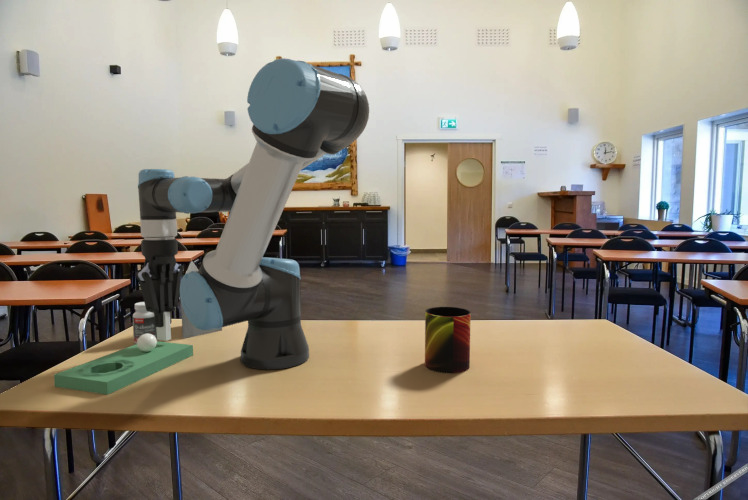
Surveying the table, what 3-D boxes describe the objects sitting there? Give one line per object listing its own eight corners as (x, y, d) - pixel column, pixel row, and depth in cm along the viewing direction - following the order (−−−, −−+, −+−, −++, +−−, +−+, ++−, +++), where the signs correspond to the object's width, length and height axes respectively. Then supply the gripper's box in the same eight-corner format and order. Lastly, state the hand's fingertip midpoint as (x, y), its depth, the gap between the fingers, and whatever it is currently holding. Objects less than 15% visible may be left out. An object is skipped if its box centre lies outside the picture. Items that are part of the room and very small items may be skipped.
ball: (161, 349, 108) (160, 332, 108) (147, 355, 104) (147, 337, 104) (146, 347, 109) (146, 330, 109) (133, 353, 105) (132, 335, 105)
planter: (212, 338, 125) (210, 264, 123) (182, 338, 125) (178, 264, 123) (230, 322, 142) (228, 257, 140) (203, 322, 141) (200, 257, 139)
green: (147, 349, 116) (147, 340, 115) (193, 355, 112) (192, 345, 111) (54, 386, 93) (53, 374, 93) (107, 394, 89) (106, 382, 89)
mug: (458, 352, 114) (458, 302, 113) (475, 372, 100) (476, 316, 99) (417, 353, 113) (418, 303, 112) (429, 374, 99) (430, 317, 98)
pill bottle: (133, 346, 119) (131, 306, 118) (134, 339, 124) (132, 302, 123) (158, 343, 121) (156, 304, 120) (158, 337, 126) (157, 300, 125)
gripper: (166, 235, 117) (170, 330, 119) (123, 240, 104) (128, 345, 107) (192, 236, 114) (196, 333, 117) (151, 240, 102) (156, 349, 104)
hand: (164, 339), depth 112 cm, fingers closed
